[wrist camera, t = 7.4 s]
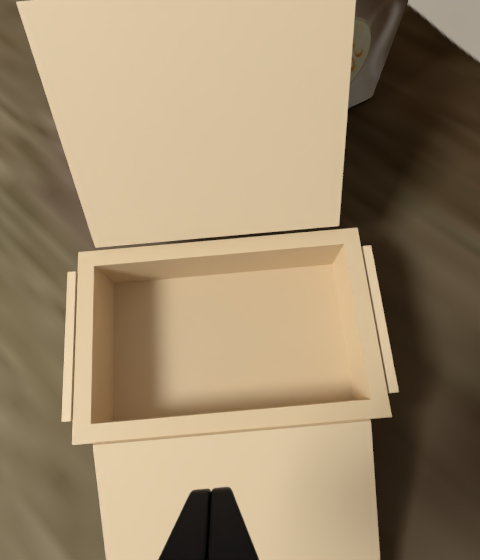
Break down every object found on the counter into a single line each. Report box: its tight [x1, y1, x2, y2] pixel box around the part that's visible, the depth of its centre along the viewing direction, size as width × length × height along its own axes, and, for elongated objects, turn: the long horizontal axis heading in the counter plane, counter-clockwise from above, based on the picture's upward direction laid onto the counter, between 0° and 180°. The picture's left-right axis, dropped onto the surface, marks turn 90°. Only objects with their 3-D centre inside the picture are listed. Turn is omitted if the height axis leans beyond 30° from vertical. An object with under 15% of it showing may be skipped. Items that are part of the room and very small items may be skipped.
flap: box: [16, 0, 356, 248], centre depth 17 cm, size 10×12×1 cm
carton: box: [62, 228, 399, 560], centre depth 19 cm, size 18×15×4 cm
